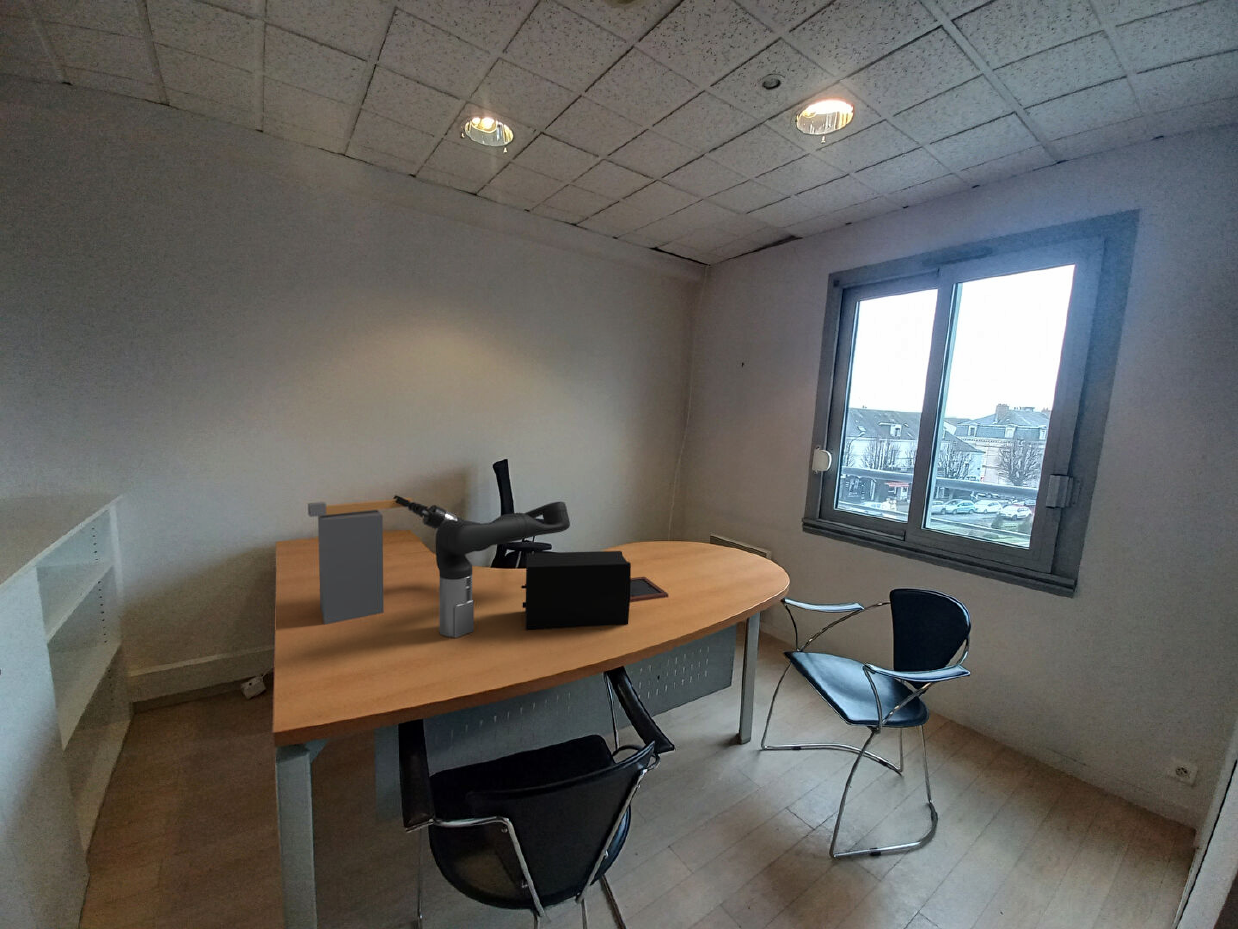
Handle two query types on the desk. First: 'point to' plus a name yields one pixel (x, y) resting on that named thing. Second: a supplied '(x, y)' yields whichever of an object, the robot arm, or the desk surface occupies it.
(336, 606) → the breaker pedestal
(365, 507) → the lever bar
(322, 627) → the desk surface
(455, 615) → the robot arm
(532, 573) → the uninterruptible power supply
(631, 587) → the picture frame
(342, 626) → the desk surface
